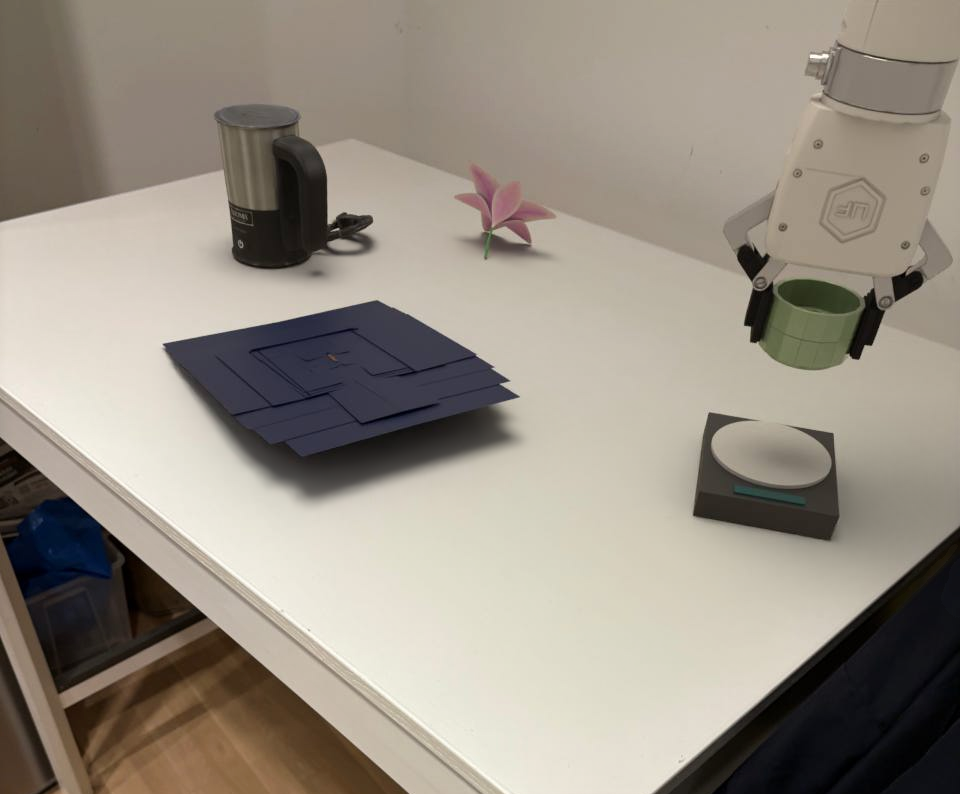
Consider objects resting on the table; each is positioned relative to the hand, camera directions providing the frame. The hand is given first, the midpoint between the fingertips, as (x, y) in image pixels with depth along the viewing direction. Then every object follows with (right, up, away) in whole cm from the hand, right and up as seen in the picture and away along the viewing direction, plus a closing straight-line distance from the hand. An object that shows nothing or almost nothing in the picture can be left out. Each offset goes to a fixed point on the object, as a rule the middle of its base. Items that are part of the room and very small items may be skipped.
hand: (804, 342), depth 72 cm
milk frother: (-46, +24, +40) cm, 65 cm away
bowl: (0, -1, +1) cm, 1 cm away
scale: (-1, -10, +8) cm, 13 cm away
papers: (-38, 0, +16) cm, 42 cm away
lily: (-23, +25, +43) cm, 55 cm away
